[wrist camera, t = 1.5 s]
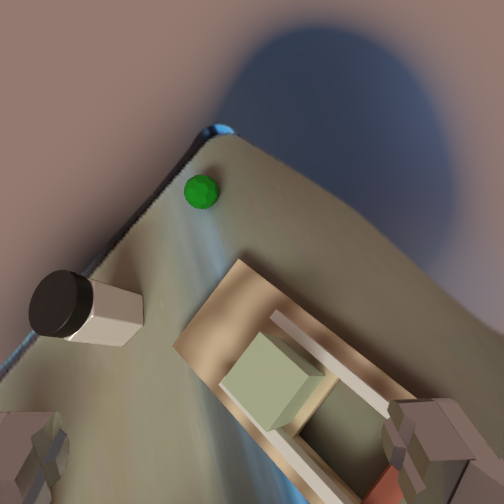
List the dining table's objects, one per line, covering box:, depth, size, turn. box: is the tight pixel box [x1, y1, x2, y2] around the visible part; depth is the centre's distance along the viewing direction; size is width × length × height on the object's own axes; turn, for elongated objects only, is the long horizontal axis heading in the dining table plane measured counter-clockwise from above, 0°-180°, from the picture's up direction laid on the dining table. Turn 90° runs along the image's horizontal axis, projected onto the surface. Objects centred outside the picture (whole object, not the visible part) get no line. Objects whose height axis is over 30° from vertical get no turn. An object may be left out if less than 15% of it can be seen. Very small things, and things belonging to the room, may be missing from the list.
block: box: [221, 332, 325, 432], centre depth 34 cm, size 6×6×7 cm
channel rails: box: [219, 310, 390, 504], centre depth 34 cm, size 19×10×2 cm, turn 48°
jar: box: [29, 270, 143, 347], centre depth 46 cm, size 9×8×12 cm
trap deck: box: [172, 259, 418, 504], centre depth 38 cm, size 28×14×2 cm, turn 48°
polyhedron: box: [184, 175, 219, 209], centre depth 50 cm, size 5×5×5 cm
